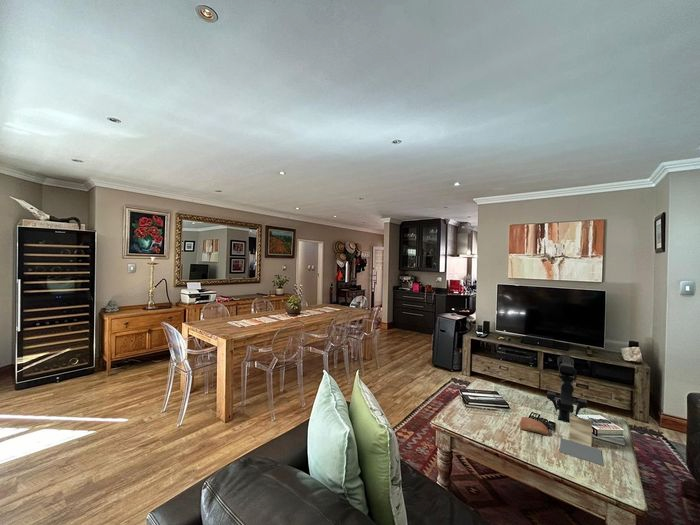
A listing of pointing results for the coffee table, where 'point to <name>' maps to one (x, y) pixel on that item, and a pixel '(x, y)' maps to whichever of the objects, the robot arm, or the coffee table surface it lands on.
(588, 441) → the oak slab
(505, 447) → the coffee table surface
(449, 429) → the coffee table surface
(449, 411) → the coffee table surface
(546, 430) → the ceramic shard
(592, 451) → the mat
